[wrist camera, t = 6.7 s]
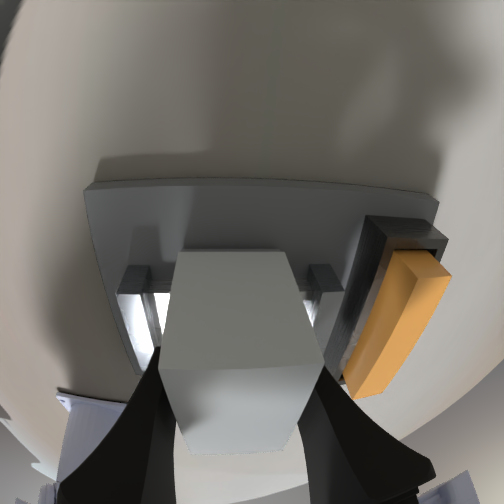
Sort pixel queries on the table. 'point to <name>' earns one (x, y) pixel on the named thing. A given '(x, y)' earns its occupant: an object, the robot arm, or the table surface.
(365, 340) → the locking tab
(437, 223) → the table surface
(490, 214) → the table surface
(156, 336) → the gray slotted fixture
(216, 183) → the mounting board
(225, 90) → the table surface
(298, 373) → the block
